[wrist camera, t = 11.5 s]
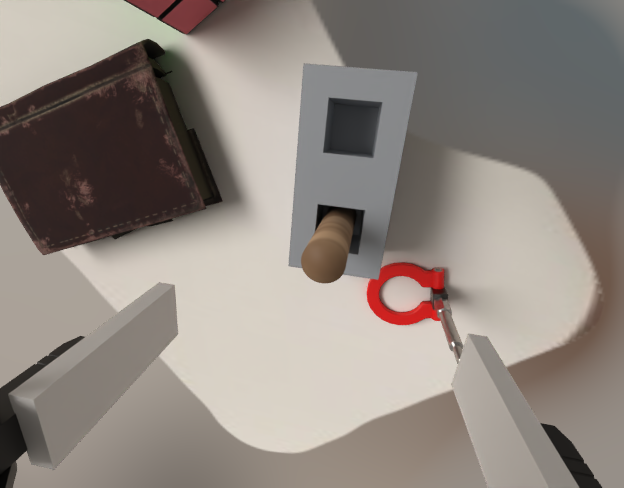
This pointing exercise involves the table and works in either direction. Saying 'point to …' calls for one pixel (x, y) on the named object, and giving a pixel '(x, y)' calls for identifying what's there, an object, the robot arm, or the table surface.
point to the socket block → (350, 156)
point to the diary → (101, 153)
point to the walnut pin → (329, 246)
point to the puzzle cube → (177, 11)
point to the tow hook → (427, 309)
